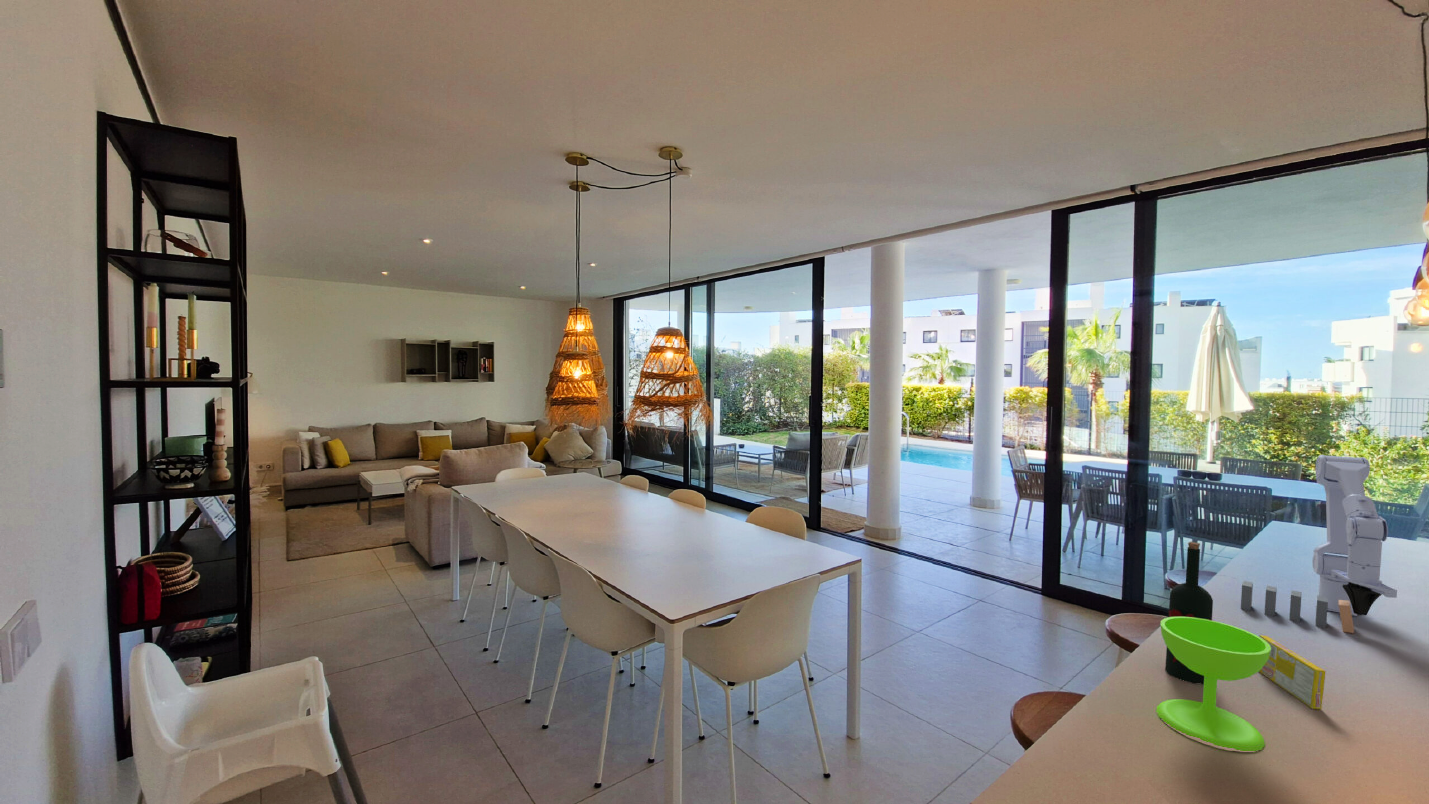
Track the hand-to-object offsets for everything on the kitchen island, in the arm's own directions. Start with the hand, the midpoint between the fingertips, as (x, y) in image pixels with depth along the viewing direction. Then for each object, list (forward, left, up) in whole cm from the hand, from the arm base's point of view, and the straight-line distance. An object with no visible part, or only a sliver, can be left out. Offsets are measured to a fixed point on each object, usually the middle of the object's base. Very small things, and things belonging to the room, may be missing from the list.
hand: (1360, 613), depth 153 cm
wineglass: (+82, -22, -5) cm, 85 cm away
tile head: (0, -2, -5) cm, 5 cm away
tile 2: (0, -7, -5) cm, 8 cm away
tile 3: (0, -12, -5) cm, 13 cm away
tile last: (0, -22, -5) cm, 22 cm away
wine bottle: (+62, -28, -5) cm, 68 cm away
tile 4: (0, -17, -5) cm, 18 cm away
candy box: (+52, -12, -5) cm, 54 cm away
